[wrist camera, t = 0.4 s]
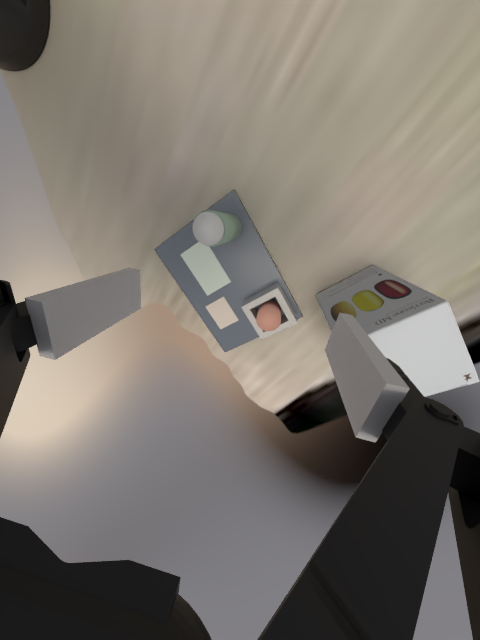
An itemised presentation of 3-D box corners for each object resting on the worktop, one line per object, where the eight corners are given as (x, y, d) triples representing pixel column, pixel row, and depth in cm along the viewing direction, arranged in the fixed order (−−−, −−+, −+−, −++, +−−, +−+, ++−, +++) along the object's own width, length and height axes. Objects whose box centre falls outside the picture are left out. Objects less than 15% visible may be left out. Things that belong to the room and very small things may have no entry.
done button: (254, 306, 36) (251, 315, 32) (274, 296, 35) (273, 304, 31) (265, 324, 37) (263, 334, 33) (284, 314, 36) (285, 325, 32)
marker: (215, 223, 33) (183, 222, 23) (235, 209, 32) (211, 201, 21) (227, 244, 34) (203, 254, 24) (247, 231, 33) (231, 235, 22)
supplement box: (373, 262, 33) (455, 296, 17) (397, 312, 35) (488, 382, 20) (313, 295, 36) (336, 347, 21) (338, 339, 38) (376, 415, 23)
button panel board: (156, 249, 37) (142, 251, 34) (234, 190, 32) (228, 185, 28) (225, 350, 43) (220, 362, 39) (302, 315, 38) (304, 325, 34)
